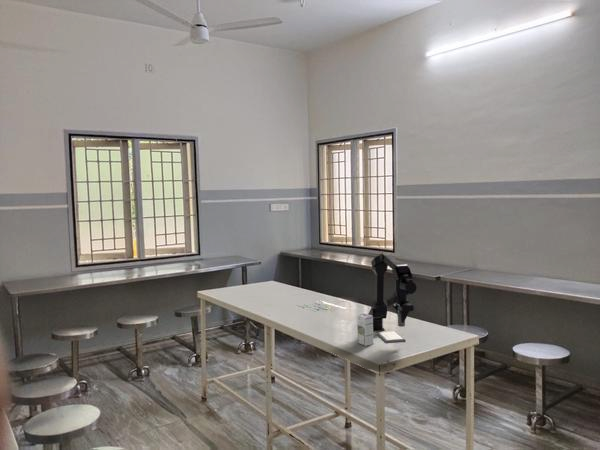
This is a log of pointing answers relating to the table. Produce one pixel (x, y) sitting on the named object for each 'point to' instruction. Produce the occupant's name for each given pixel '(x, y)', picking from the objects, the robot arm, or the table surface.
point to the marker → (400, 320)
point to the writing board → (391, 337)
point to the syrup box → (365, 329)
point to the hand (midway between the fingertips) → (401, 321)
